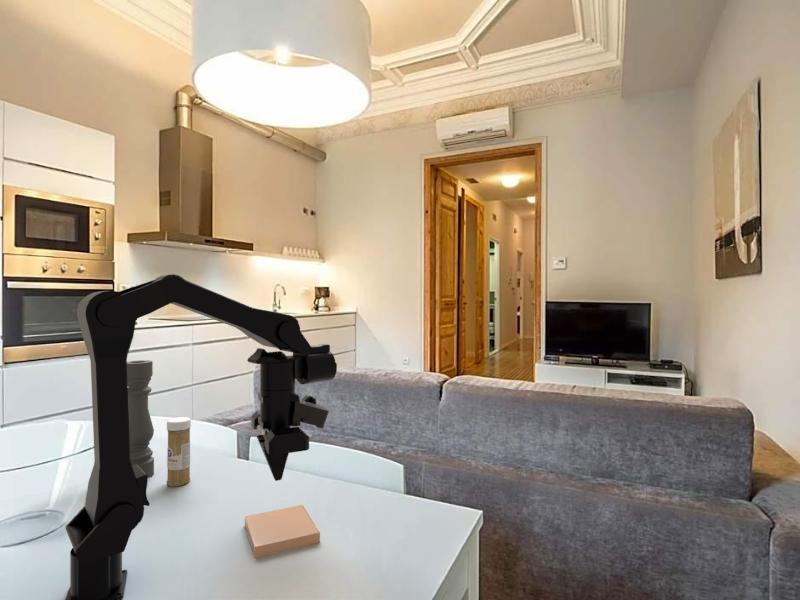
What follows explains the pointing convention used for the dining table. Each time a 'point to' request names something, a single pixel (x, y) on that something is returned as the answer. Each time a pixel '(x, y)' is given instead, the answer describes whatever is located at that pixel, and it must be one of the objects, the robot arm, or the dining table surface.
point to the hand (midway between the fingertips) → (277, 479)
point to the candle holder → (140, 414)
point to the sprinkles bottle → (178, 451)
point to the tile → (280, 530)
